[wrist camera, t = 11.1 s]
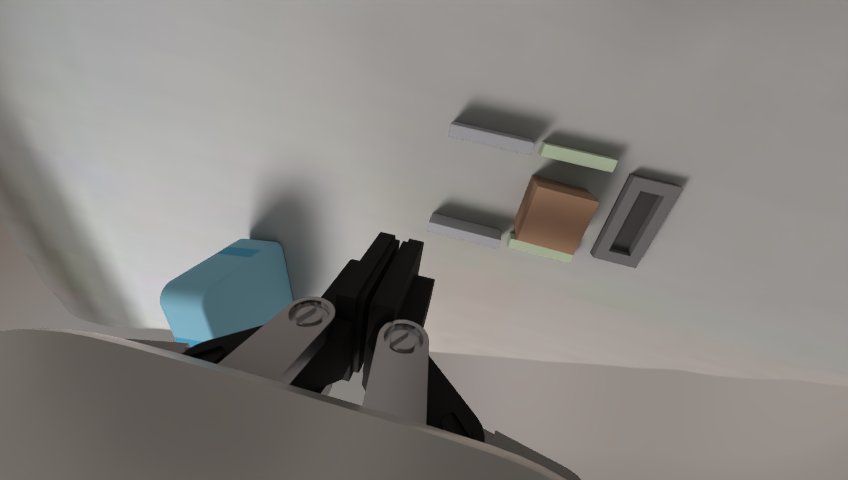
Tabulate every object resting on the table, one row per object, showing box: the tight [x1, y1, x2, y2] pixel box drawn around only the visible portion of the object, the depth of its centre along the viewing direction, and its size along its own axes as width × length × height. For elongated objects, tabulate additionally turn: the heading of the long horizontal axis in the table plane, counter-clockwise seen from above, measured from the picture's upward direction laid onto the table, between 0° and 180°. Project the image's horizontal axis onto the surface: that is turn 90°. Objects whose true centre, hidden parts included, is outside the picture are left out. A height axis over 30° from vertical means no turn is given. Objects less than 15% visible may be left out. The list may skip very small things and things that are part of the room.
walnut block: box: [514, 175, 600, 255], centre depth 28 cm, size 5×5×4 cm
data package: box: [160, 239, 293, 347], centre depth 35 cm, size 12×4×12 cm, turn 179°
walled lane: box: [427, 121, 535, 249], centre depth 29 cm, size 10×7×2 cm
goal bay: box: [507, 142, 618, 263], centre depth 29 cm, size 10×6×2 cm, turn 169°
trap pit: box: [590, 174, 683, 268], centre depth 29 cm, size 8×4×1 cm, turn 169°
